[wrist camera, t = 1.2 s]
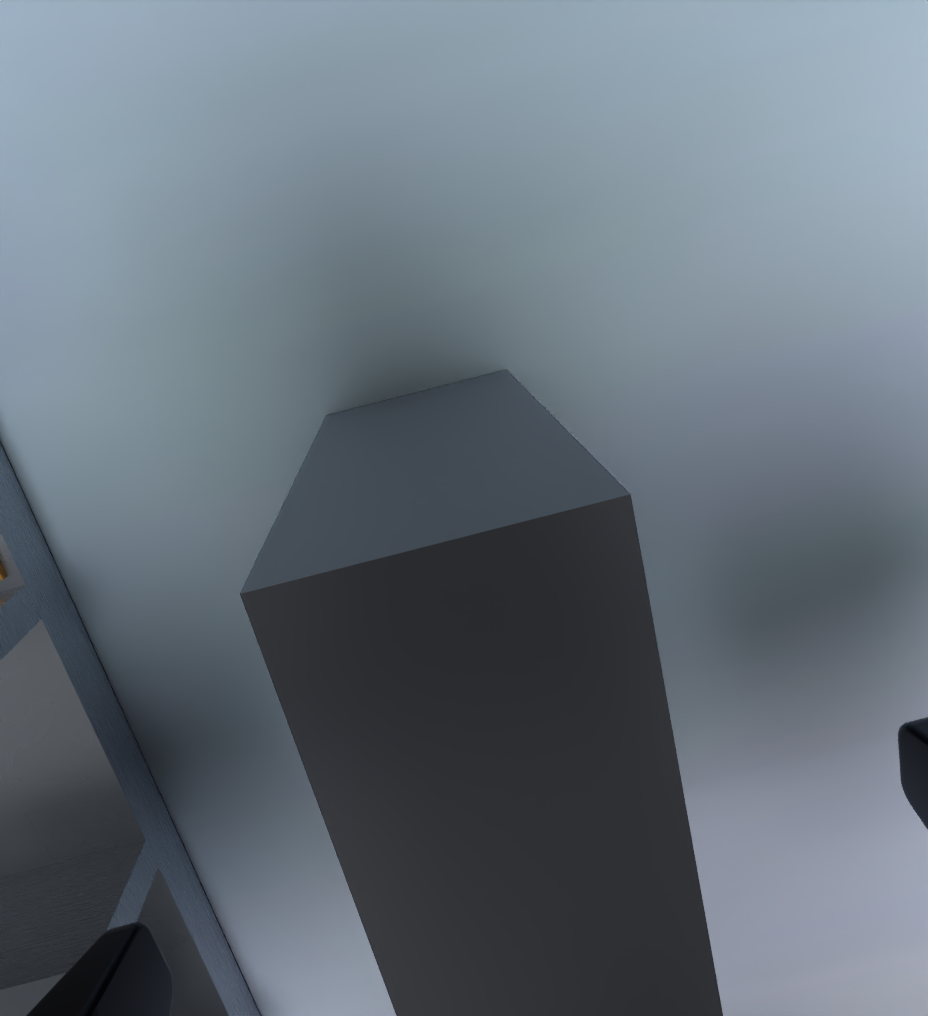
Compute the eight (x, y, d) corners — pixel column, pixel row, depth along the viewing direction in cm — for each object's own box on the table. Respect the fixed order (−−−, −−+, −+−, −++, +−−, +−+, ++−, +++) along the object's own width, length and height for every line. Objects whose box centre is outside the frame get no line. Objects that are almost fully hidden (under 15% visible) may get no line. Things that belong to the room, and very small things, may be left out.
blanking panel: (505, 368, 12) (630, 494, 6) (603, 808, 15) (761, 1235, 8) (326, 414, 12) (239, 593, 6) (457, 845, 15) (503, 1302, 8)
